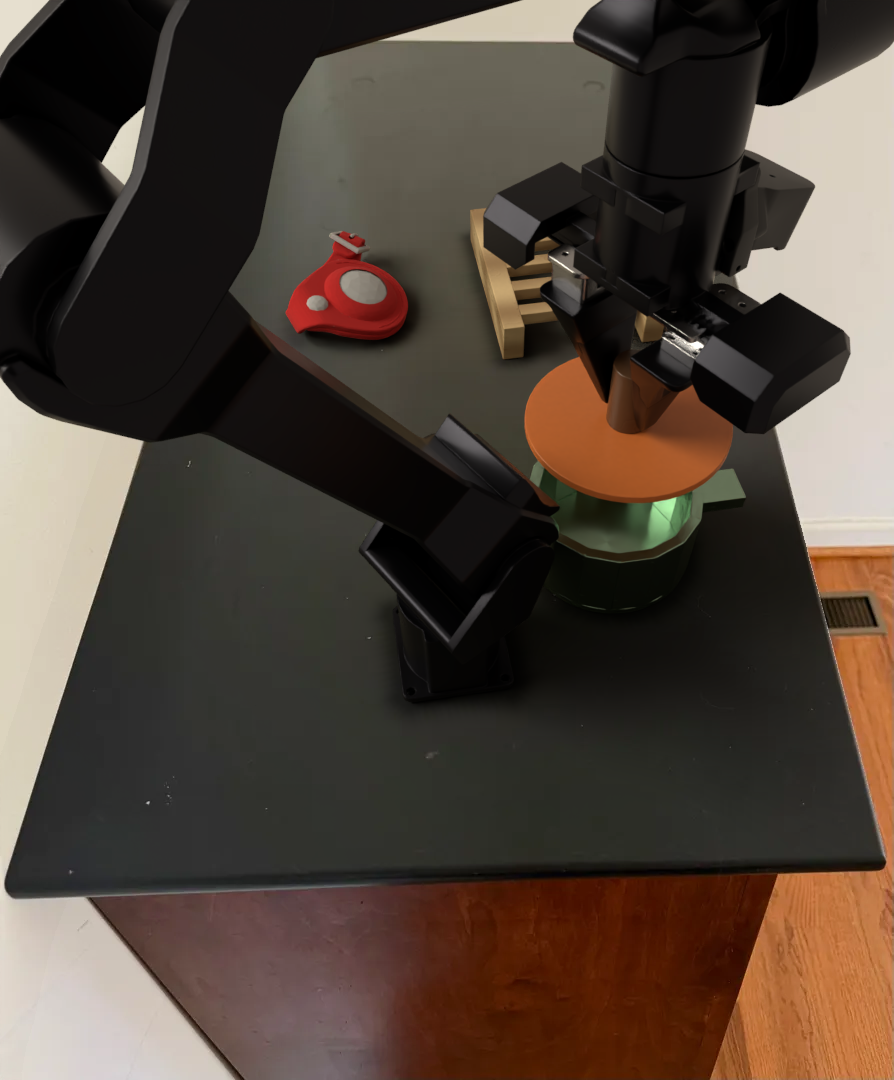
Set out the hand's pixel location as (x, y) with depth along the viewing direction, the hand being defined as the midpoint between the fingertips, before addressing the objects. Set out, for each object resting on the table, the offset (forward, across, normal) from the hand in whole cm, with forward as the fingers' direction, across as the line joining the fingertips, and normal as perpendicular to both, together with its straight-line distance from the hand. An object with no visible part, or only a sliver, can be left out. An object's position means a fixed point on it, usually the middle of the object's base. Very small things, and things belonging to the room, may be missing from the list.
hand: (628, 412), depth 50 cm
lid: (+1, 0, 0) cm, 1 cm away
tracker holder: (+12, +31, -1) cm, 33 cm away
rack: (+12, +22, -16) cm, 29 cm away
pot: (+12, 0, 0) cm, 12 cm away
